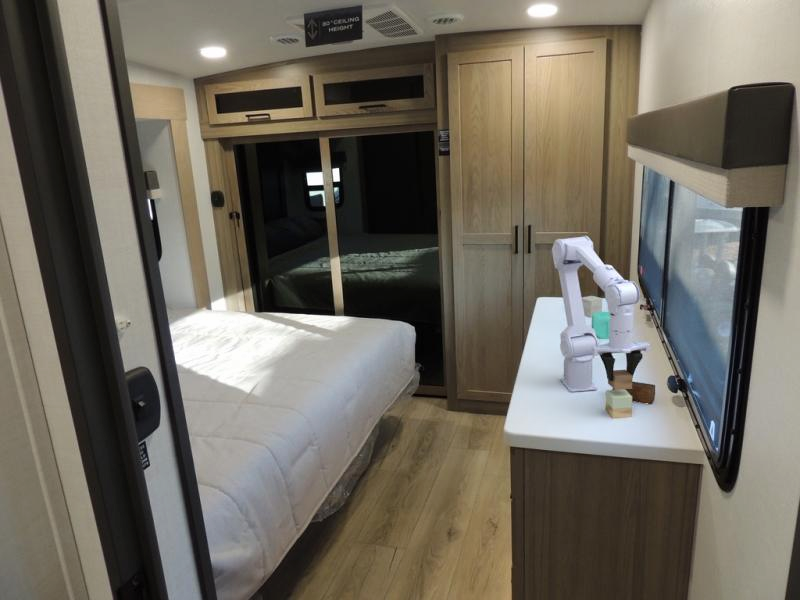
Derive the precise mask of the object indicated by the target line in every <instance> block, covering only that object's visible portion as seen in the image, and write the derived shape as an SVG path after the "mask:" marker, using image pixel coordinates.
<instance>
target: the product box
mask: <svg viewBox="0 0 800 600" xmlns="http://www.w3.org/2000/svg"><path fill="white" fill-rule="evenodd" d="M581 298H582V304H583V309H584V315H585V317H587V318H590V319H592V315H593V314H594V313H596V312H603V298H602V297H598V296H594V295H588V296H583V297H581Z"/></svg>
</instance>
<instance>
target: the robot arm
mask: <svg viewBox="0 0 800 600" xmlns="http://www.w3.org/2000/svg"><path fill="white" fill-rule="evenodd" d="M551 254H552V259H553V265H554V268H555V269H557V271H558V275H559V280H560V281H559V282H560V287H561V292H562V293H561V295H562V300H563V305H564V312H565V317H566V323H567V326H566V327H565V328H564V329H563V331H562V332H561V333H560V334H559V335H560V336H559V337H560V338H559V339H560V343H559V349H560V353H561V355H562V356H563V357H564V359H563V377H561V378H560V381H561V383H562V384H563V385H564V386H565V387H566V389H567V390H568V391H569V392H570V393H572V392H573V393H574V392H575V393H576V392H585V391H587V392H588V391H596V390H598V387H597V386H596V385H595V384H594V383H593V359H595V358H596V356H599V357H600V358H601V361H602V363H603V366H604V369H605V372H606V373H605V374H606V377H607V381H608V380H610V381H613V370H614V369H615V368H614V367H615V362H616V358H614V356H613V354H625V357H626V358H625V359H626V369H625V370H626V371H627V372H629V373H630V374H631V375H632V376H633V377H634V374H635V372H636V368H637V367H638V366H639V364H640V362H641V361H642V359H643V358H644V357H643V356H644V355H643V353H642V352H647V353H648V352H649V353H650V352H651V344H650V343H649V342H647V341H645V342H643V341H641V342H640V341H634V322H635V321H634V316H635V304H637V303H639V301H640V297H641V292H640V288H639V286H638V285H637V284H636V282H635V281H634V280H633V281H632V280H630V281H629V280H628V279H624V278H623V276H622V275H621V274H620V273H619V272H618V271H617V270H616V269H615V268H614V266H613V265H611V264H604V262H603V261H602V260H601V258H600V257H599V255H598V254H597V253H596V251H595V250H594V242H593V241H592V240H591V238H590V237H589V236H588V235H583V236H579V237H578V236H577V237H568V238H557V239H556V240H554V242H553V245H552V248H551ZM583 265H584V266H585V267H586V268H587V269H588V270H590V272H592V273H593V274H592V276H593V277H592V278H593V281H594V282H595V283H596V284H597V285H598V287H599V288H600V289H601V290H602V291H603V292H604V297H605V301H606V304H607V312H610V324H609V339H608V343H604V344H600V341H599V338H597V337H596V334H595V330H594V329H593V328H592V326H590V325H588V324H587V320H586V316H585V315H584V309H583V304H582V298H583V297H582V293H581V287H580V281H579V276H578V270H579V268H580V267H582V266H583ZM575 335H577V336H575Z"/></svg>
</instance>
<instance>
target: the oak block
mask: <svg viewBox="0 0 800 600" xmlns="http://www.w3.org/2000/svg"><path fill="white" fill-rule="evenodd" d="M605 411H606V412H607V414H608V415H609V416H610V417H611V418H612V419H626V418H632V417H633V407H632V408H616V409H612V408H611V406H610V405H609V404H608V403H607V401H606V400H605Z"/></svg>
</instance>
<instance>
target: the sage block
mask: <svg viewBox="0 0 800 600" xmlns="http://www.w3.org/2000/svg"><path fill="white" fill-rule="evenodd" d="M606 401H607V403H608V404H609V405H610V406H611V408H612V409H616V408H632V409H633V401H632V396H631V395H630V394H629V393H628V392H627V391H626V390H625V389H619V390H612V389H606V390H605V402H606Z"/></svg>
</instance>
